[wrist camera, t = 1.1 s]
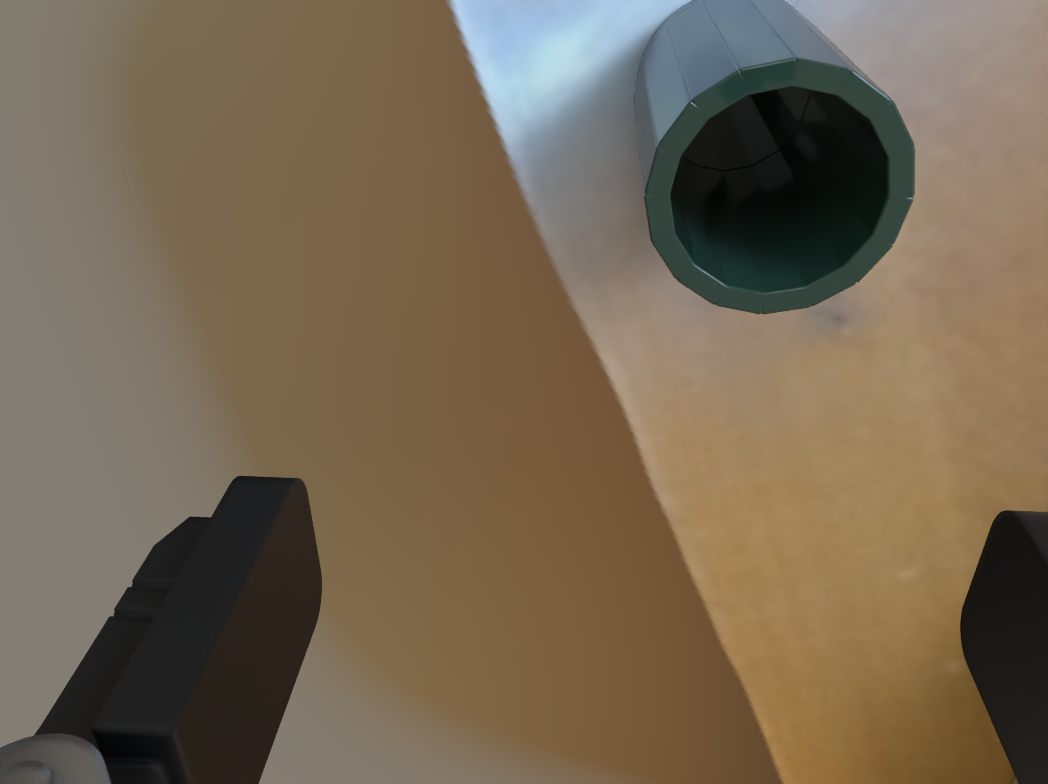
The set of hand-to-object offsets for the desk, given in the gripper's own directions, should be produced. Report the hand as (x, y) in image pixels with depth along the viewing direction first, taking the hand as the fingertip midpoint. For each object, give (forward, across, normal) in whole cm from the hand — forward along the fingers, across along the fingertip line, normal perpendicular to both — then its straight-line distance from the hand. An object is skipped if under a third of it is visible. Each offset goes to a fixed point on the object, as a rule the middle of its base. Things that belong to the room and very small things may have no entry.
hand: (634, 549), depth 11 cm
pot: (+22, -4, 0) cm, 22 cm away
